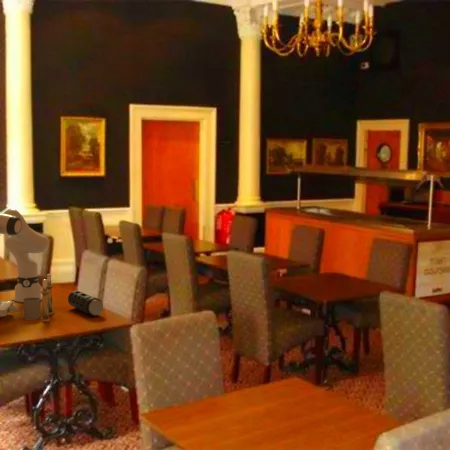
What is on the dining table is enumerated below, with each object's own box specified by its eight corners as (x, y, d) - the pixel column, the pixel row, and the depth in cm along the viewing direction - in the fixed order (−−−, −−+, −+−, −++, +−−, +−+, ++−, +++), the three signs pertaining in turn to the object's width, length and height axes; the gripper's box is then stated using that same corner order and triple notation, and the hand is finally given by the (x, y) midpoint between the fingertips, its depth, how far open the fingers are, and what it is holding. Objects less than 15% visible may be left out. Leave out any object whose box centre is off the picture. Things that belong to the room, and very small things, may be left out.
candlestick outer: (41, 320, 363) (41, 279, 361) (50, 319, 364) (49, 278, 362) (40, 322, 359) (39, 280, 357) (49, 321, 359) (48, 280, 357)
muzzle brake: (83, 307, 395) (83, 289, 393) (104, 317, 372) (104, 297, 371) (67, 309, 389) (67, 291, 388) (87, 319, 366) (87, 299, 365)
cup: (43, 317, 370) (43, 298, 369) (32, 320, 363) (31, 301, 362) (32, 315, 374) (31, 296, 373) (20, 318, 367) (20, 299, 366)
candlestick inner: (46, 313, 379) (45, 273, 377) (54, 312, 380) (53, 273, 377) (45, 314, 375) (44, 275, 373) (53, 314, 375) (52, 275, 373)
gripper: (-13, 307, 355) (15, 307, 356) (-5, 299, 375) (22, 298, 377) (-13, 319, 356) (15, 319, 357) (-5, 310, 376) (22, 310, 377)
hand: (18, 308), depth 367 cm, fingers closed
